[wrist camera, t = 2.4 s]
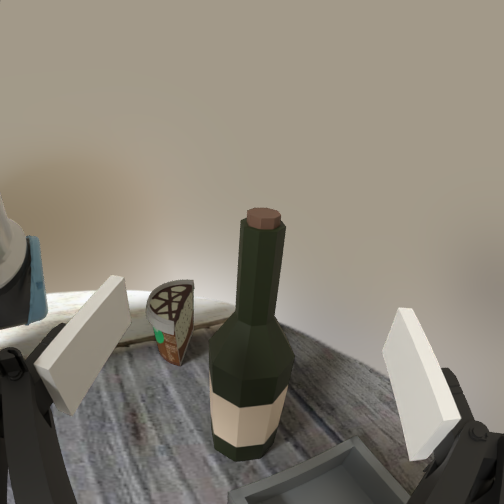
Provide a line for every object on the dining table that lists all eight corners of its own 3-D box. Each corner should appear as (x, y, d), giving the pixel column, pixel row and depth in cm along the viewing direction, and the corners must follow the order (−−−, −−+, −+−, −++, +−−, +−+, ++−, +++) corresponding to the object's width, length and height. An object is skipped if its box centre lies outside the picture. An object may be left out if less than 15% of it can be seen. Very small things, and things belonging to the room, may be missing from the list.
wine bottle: (219, 406, 40) (224, 192, 27) (278, 417, 39) (320, 204, 26) (202, 454, 33) (189, 224, 20) (268, 467, 32) (321, 243, 19)
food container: (164, 319, 57) (159, 273, 53) (195, 324, 57) (194, 278, 52) (141, 365, 46) (131, 316, 42) (178, 372, 46) (172, 323, 41)
